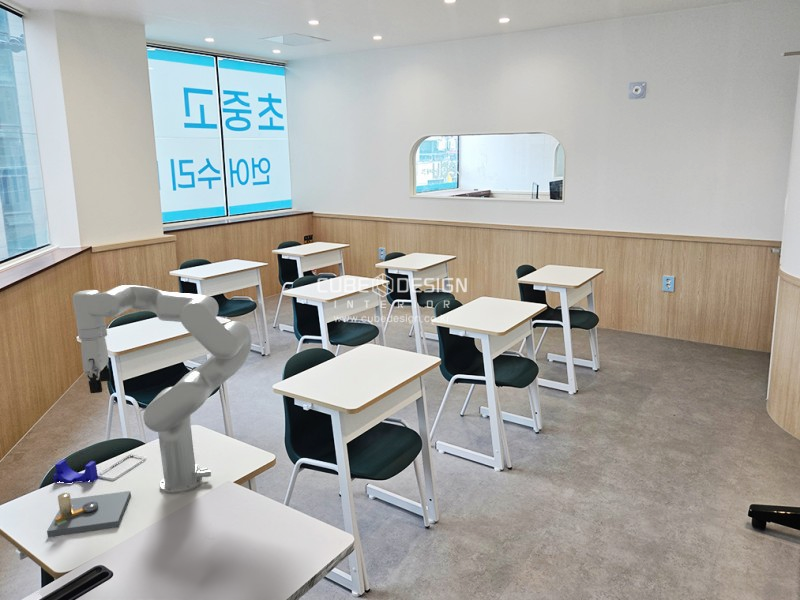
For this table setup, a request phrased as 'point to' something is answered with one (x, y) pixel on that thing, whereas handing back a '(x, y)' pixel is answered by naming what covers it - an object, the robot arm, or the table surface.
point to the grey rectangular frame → (123, 471)
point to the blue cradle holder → (75, 473)
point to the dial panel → (92, 515)
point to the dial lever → (67, 507)
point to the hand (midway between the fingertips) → (100, 386)
